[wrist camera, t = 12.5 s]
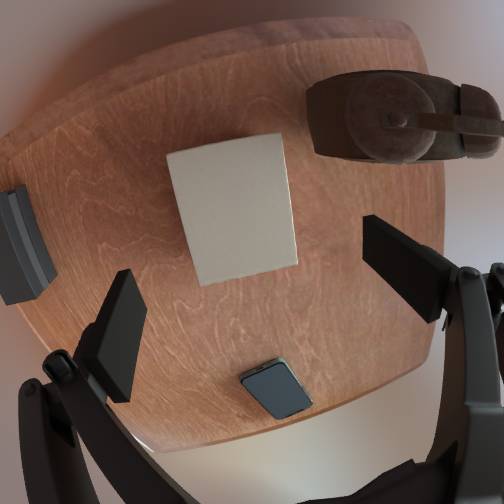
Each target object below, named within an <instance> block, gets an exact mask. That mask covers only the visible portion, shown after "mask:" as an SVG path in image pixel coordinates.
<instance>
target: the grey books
mask: <svg viewBox="0 0 504 504" xmlns="http://www.w3.org/2000/svg"><path fill="white" fill-rule="evenodd" d="M56 276H57V273H56V271H55V268H54V266H53V264H52V261H51V259H50V256H49V254H48V252H47V249H46V247H45V244H44V241H43V239H42V236H41V233H40V231H39V228H38V225H37V222H36V219H35V216H34V213H33V210H32V207H31V203H30V200H29V197H28V193H27V190H26V186H25V184H24V185H22V186H20V187H17V188H15V189H13V190H11V191H10V192H8V193H7V191H4V192H2V193H0V294H1V296H2V298H3V300H4V302H5V304H6V305H11V304H16V303H21V302H25V301H29V300H34V299H37V298H38V297H39V296H40V294H41V293H42V292H43V291H44V290H45V288H46V287H47V286H48V285H49V284H50V283H51V282H52V281H53V280H54V278H55V277H56Z"/></svg>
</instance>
